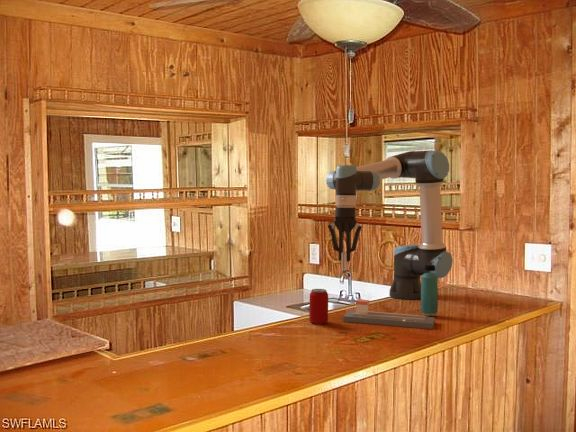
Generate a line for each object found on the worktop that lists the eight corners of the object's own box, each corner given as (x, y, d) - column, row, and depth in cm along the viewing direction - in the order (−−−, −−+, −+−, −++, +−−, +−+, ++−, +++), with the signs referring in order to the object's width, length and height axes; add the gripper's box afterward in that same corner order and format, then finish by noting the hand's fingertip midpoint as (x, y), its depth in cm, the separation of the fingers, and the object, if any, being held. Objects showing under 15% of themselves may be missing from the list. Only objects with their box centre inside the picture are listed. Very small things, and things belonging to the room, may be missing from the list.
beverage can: (328, 320, 225) (328, 288, 225) (327, 325, 219) (328, 292, 218) (309, 320, 226) (310, 288, 225) (308, 324, 219) (309, 291, 219)
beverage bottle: (439, 318, 231) (440, 266, 230) (421, 318, 231) (423, 265, 230) (435, 314, 238) (436, 263, 237) (418, 314, 238) (419, 263, 237)
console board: (348, 315, 234) (349, 308, 234) (434, 322, 224) (434, 315, 224) (343, 321, 225) (343, 314, 224) (432, 329, 215) (432, 321, 215)
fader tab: (357, 312, 230) (357, 299, 229) (368, 313, 228) (369, 300, 228) (355, 314, 226) (355, 300, 226) (367, 315, 225) (367, 301, 225)
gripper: (325, 206, 225) (324, 270, 227) (361, 207, 221) (360, 272, 223) (330, 205, 233) (329, 267, 234) (365, 206, 228) (364, 269, 230)
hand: (344, 269), depth 228 cm, fingers closed
